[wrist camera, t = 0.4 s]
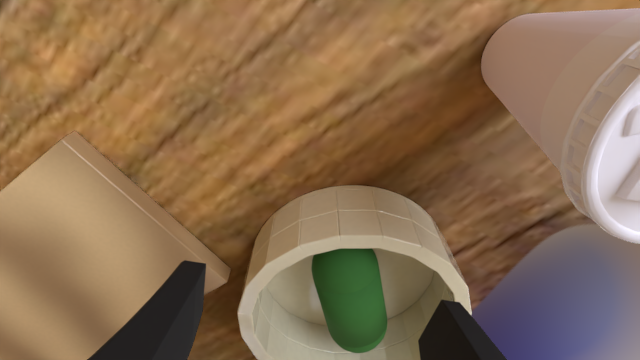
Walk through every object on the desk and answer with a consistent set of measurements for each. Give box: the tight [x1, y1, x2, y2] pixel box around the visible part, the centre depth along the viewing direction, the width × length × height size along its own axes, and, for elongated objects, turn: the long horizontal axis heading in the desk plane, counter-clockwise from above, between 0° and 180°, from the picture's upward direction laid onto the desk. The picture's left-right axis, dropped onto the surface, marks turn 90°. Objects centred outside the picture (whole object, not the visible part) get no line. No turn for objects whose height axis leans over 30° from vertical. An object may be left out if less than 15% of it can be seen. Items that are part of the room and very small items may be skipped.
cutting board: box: [0, 131, 231, 360], centre depth 23 cm, size 20×12×1 cm, turn 125°
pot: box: [237, 185, 472, 360], centre depth 21 cm, size 13×13×4 cm
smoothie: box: [481, 8, 640, 244], centre depth 11 cm, size 6×6×14 cm
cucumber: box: [311, 249, 387, 353], centre depth 21 cm, size 8×4×4 cm, turn 11°
